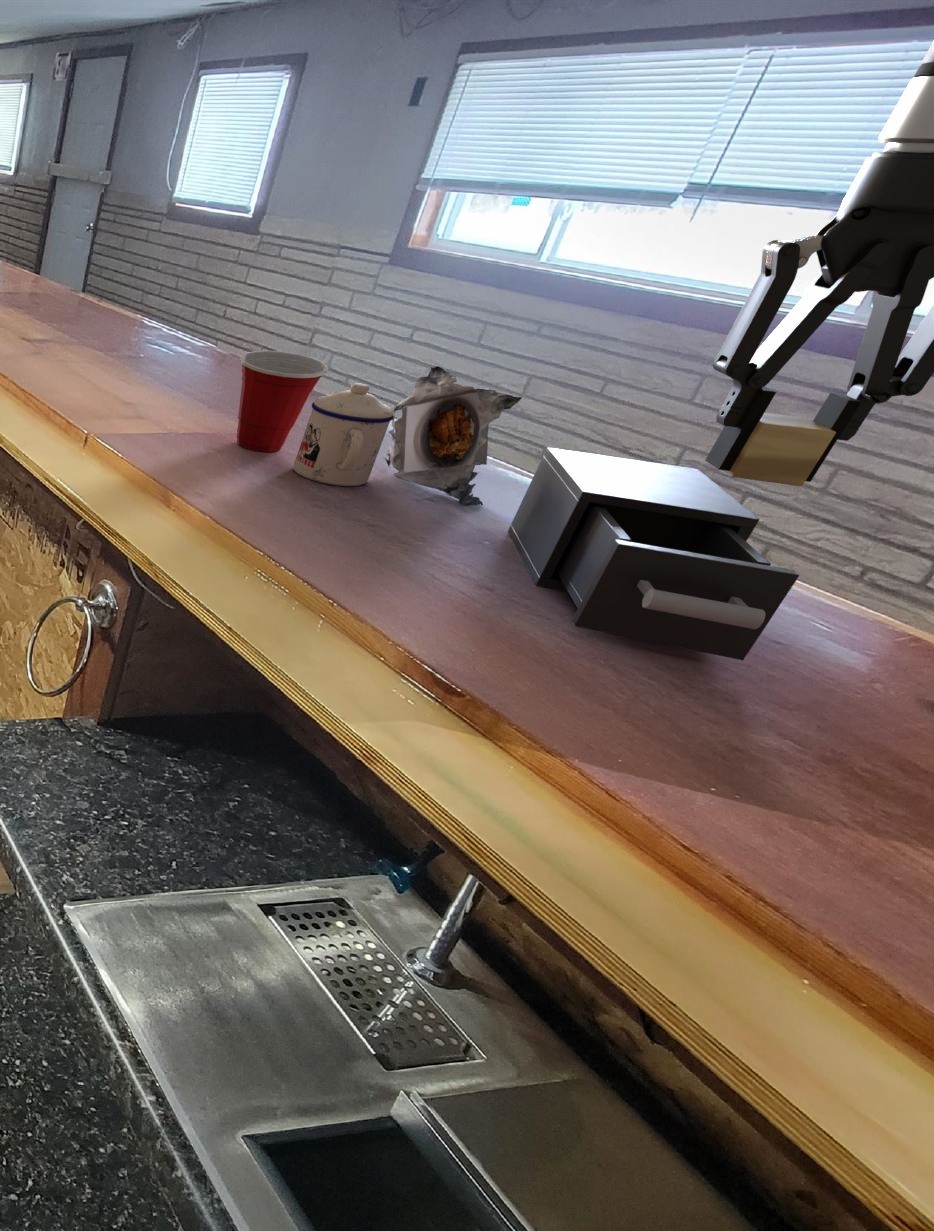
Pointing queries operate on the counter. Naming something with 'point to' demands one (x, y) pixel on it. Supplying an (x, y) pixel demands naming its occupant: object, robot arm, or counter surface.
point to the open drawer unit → (670, 580)
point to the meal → (444, 433)
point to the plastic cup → (273, 396)
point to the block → (782, 450)
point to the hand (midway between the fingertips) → (756, 470)
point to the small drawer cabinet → (609, 502)
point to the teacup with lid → (343, 437)
